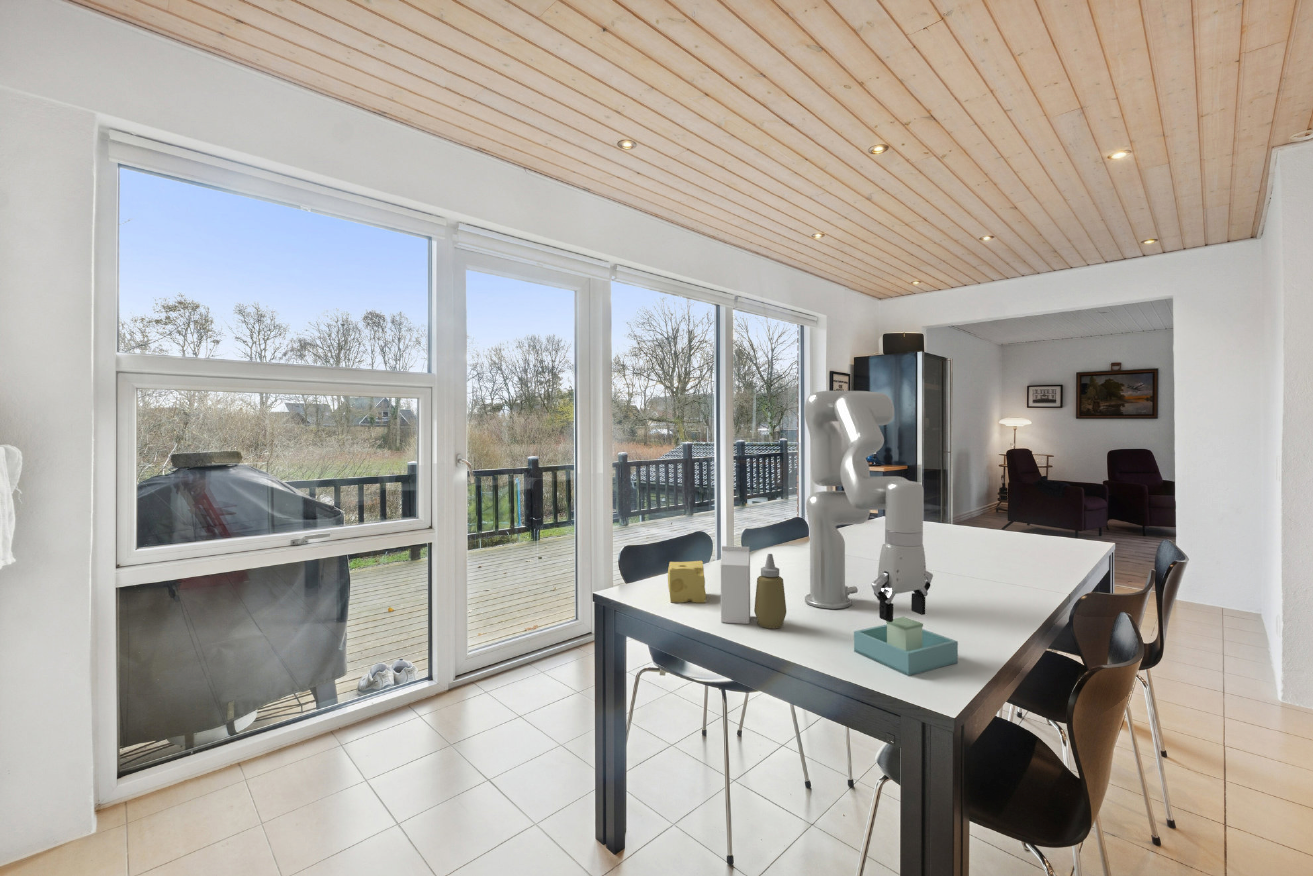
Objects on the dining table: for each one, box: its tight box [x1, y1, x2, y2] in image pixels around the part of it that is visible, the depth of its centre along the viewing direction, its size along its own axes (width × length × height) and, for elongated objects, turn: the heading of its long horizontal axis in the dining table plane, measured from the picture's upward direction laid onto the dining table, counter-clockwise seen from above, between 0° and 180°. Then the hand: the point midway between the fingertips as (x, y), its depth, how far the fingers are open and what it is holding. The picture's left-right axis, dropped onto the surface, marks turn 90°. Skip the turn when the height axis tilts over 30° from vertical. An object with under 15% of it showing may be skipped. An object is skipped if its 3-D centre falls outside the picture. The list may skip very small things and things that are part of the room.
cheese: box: [667, 560, 707, 604], centre depth 173 cm, size 10×11×10 cm
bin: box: [853, 623, 959, 677], centre depth 127 cm, size 15×15×4 cm
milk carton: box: [720, 545, 751, 625], centre depth 153 cm, size 7×7×19 cm
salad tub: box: [885, 616, 924, 651], centre depth 127 cm, size 5×5×7 cm
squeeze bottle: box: [753, 553, 787, 629], centre depth 148 cm, size 8×8×18 cm
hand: (902, 616), depth 128 cm, fingers open, 9 cm apart
